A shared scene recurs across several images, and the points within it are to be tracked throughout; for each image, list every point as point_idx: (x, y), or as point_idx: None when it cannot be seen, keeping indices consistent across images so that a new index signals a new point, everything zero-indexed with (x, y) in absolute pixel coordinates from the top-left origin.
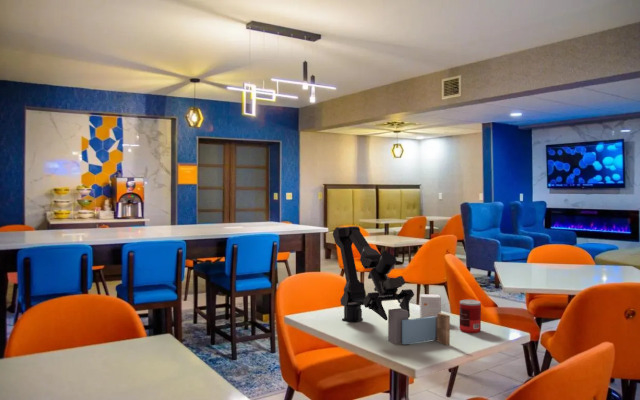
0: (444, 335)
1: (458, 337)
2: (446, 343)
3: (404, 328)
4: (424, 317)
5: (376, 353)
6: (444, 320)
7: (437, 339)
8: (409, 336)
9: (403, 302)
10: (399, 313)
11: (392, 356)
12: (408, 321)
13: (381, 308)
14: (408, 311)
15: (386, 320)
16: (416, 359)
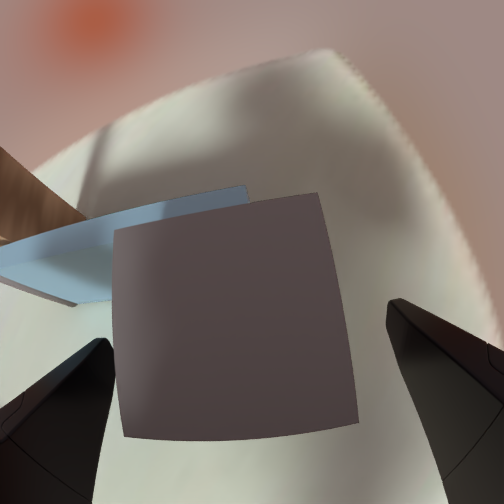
0: (60, 211)
1: (4, 300)
2: (80, 214)
3: None
4: (34, 258)
5: (437, 188)
6: (13, 174)
7: None
8: None
9: (25, 490)
10: (262, 209)
11: (380, 139)
12: (197, 199)
13: (501, 356)
14: (69, 365)
15: (389, 321)
16: (298, 97)
